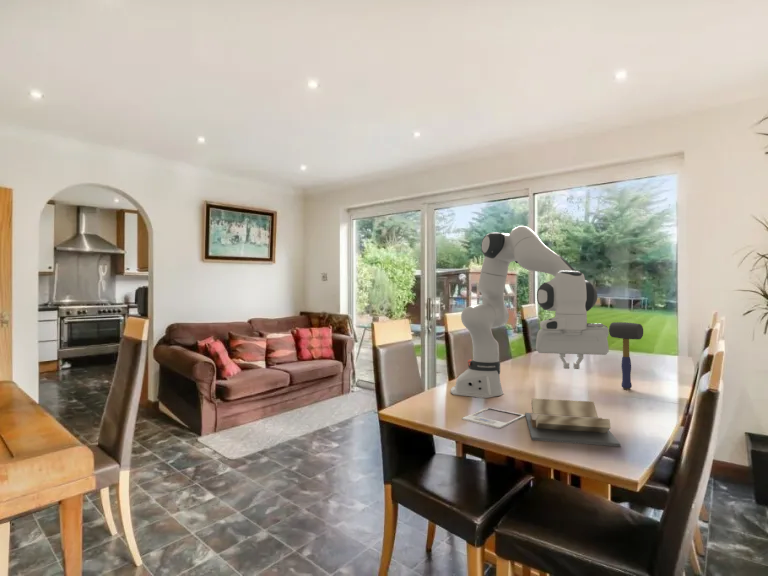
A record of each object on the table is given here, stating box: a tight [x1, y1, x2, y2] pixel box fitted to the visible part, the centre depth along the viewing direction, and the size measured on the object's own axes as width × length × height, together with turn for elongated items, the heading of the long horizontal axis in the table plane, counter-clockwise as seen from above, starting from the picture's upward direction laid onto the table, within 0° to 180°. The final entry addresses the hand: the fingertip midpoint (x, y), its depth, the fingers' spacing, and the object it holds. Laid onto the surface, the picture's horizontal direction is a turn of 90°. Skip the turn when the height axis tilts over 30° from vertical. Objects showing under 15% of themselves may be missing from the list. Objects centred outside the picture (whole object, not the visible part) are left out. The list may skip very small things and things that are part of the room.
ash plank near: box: [536, 415, 612, 433], centre depth 129 cm, size 20×7×2 cm, turn 76°
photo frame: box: [461, 407, 526, 429], centre depth 148 cm, size 15×1×18 cm
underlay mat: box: [524, 412, 621, 447], centre depth 136 cm, size 24×26×1 cm
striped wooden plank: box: [529, 412, 608, 433], centre depth 136 cm, size 22×7×2 cm, turn 76°
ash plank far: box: [531, 398, 599, 418], centre depth 143 cm, size 20×7×2 cm, turn 76°
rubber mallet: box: [608, 321, 644, 390], centre depth 188 cm, size 12×8×30 cm, turn 37°
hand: (571, 368), depth 128 cm, fingers closed
